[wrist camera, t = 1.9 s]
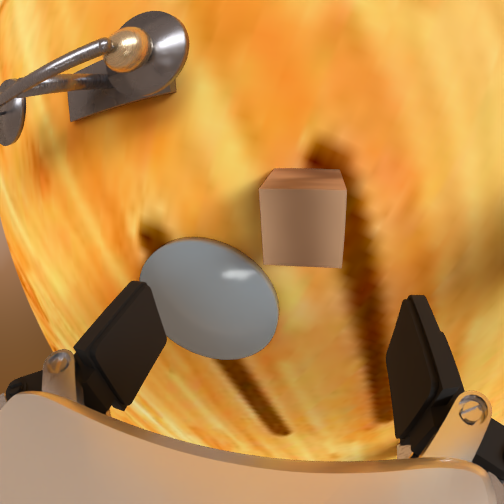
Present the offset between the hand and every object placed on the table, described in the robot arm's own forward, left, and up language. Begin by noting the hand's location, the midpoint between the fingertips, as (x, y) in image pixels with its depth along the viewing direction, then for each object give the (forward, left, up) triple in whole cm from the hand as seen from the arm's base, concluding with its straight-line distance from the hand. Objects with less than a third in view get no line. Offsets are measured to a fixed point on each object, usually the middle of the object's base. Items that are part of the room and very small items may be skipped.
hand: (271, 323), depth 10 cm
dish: (+9, +11, -14) cm, 20 cm away
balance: (+15, -12, -14) cm, 24 cm away
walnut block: (-1, 0, -14) cm, 14 cm away
